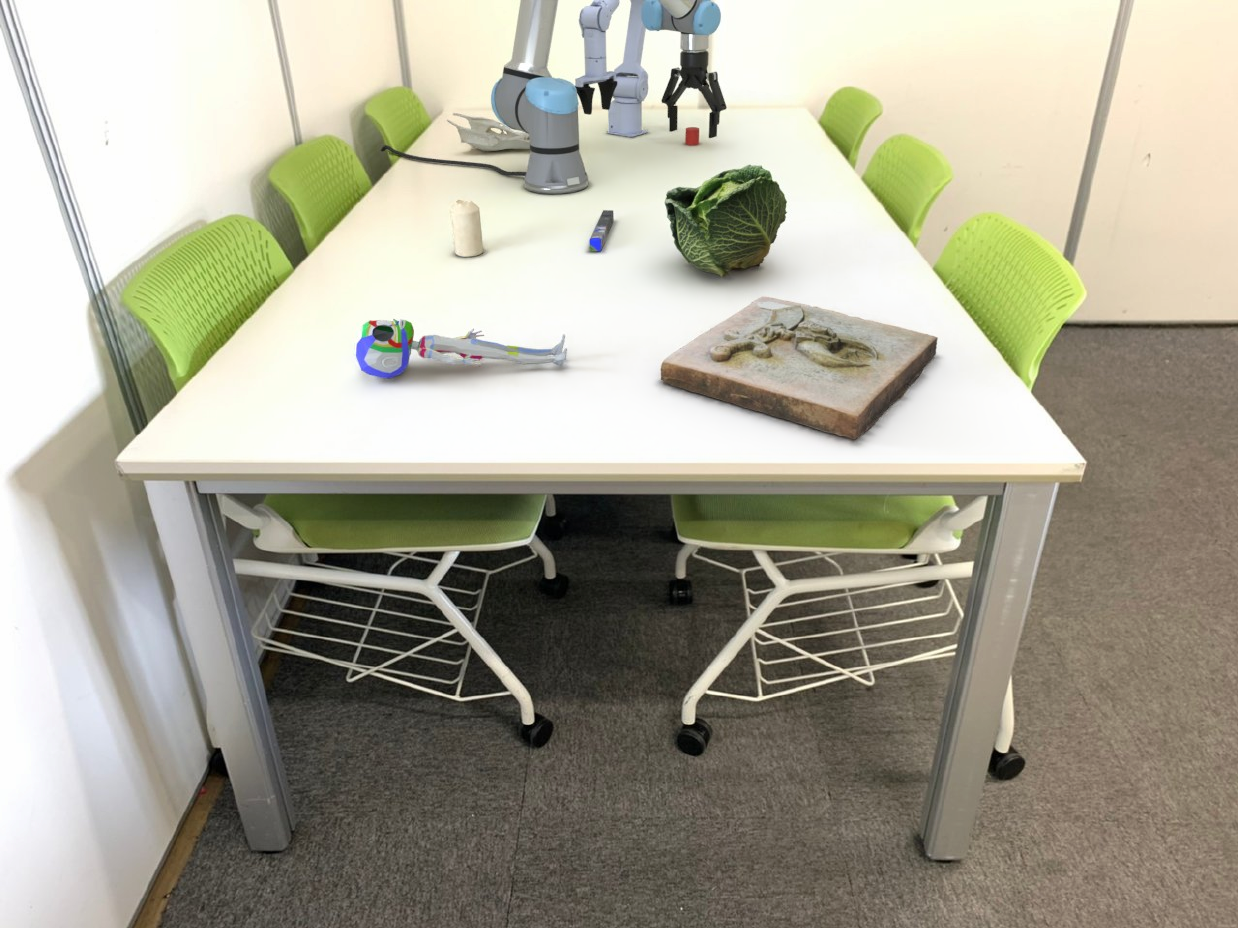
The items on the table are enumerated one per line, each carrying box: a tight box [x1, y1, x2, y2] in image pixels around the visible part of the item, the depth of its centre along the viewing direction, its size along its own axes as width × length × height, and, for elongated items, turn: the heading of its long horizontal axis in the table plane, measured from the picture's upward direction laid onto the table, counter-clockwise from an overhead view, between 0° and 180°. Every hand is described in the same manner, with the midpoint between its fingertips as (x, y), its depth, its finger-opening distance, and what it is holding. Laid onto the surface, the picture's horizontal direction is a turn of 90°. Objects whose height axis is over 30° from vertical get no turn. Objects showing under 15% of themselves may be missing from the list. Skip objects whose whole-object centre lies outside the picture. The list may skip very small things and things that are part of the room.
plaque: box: [660, 296, 939, 441], centre depth 128 cm, size 30×7×30 cm
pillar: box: [588, 209, 615, 252], centre depth 182 cm, size 2×2×20 cm
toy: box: [353, 318, 568, 379], centre depth 130 cm, size 10×8×30 cm
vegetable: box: [664, 164, 788, 278], centre depth 161 cm, size 20×19×20 cm
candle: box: [449, 199, 484, 258], centre depth 172 cm, size 6×6×10 cm
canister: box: [684, 126, 700, 146], centre depth 249 cm, size 4×4×4 cm
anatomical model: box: [446, 112, 530, 152], centre depth 245 cm, size 15×9×25 cm
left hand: (692, 134), depth 249 cm, fingers open, 13 cm apart
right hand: (596, 111), depth 243 cm, fingers open, 7 cm apart
